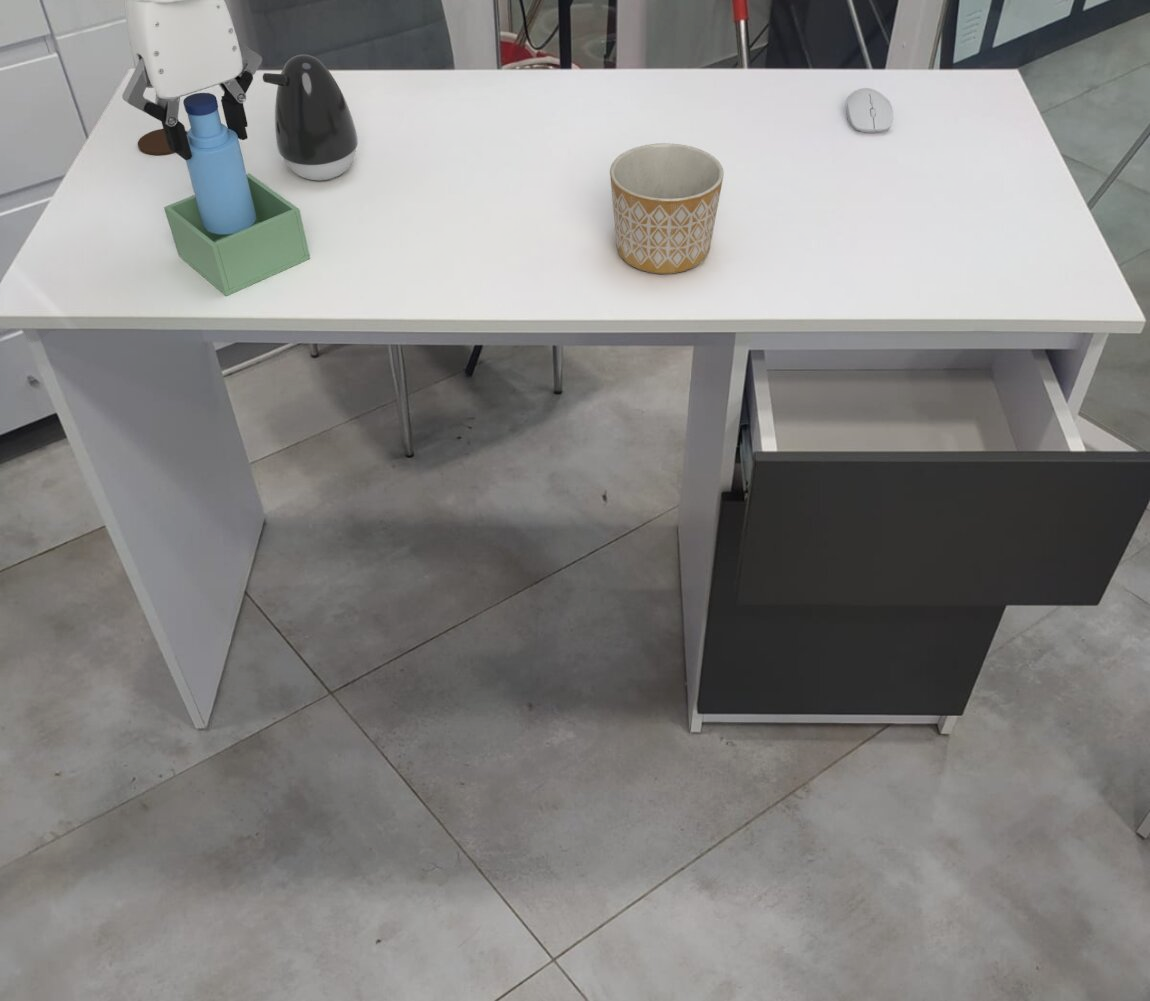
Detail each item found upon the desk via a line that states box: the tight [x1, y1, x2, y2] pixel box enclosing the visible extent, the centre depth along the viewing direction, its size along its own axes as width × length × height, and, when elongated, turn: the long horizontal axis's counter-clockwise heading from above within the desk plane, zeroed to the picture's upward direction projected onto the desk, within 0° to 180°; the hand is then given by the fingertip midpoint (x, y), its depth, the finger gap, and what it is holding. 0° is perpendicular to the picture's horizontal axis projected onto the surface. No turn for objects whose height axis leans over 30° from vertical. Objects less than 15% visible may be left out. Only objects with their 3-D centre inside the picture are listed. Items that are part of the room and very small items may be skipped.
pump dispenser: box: [262, 54, 359, 181], centre depth 140 cm, size 10×10×15 cm
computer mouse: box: [845, 87, 894, 134], centre depth 153 cm, size 6×10×3 cm, turn 179°
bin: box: [163, 173, 311, 297], centre depth 129 cm, size 11×11×7 cm
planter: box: [609, 142, 725, 275], centre depth 128 cm, size 13×13×10 cm
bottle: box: [182, 92, 256, 235], centre depth 123 cm, size 6×6×14 cm
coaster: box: [137, 128, 188, 156], centre depth 152 cm, size 7×7×1 cm
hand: (210, 143), depth 121 cm, fingers closed on bottle, 6 cm apart
